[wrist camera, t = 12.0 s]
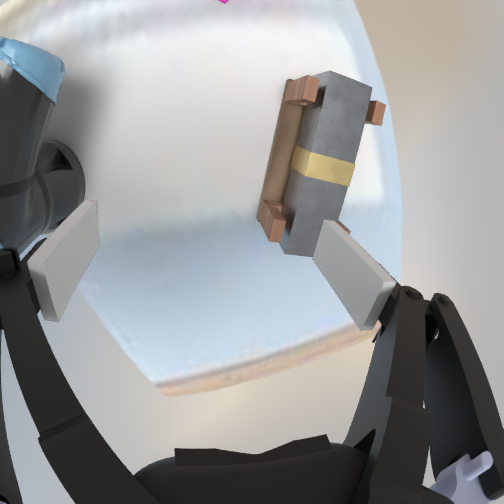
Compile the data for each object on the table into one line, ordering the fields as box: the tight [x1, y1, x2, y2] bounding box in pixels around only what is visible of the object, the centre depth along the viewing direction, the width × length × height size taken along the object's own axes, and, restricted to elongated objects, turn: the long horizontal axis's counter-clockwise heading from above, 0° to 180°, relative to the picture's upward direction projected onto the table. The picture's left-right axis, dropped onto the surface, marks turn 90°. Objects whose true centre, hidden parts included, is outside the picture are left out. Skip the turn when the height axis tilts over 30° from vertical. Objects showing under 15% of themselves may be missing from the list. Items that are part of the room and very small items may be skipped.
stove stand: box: [257, 75, 386, 242], centre depth 36 cm, size 11×22×10 cm, turn 169°
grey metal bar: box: [279, 71, 372, 257], centre depth 34 cm, size 24×6×6 cm, turn 169°
